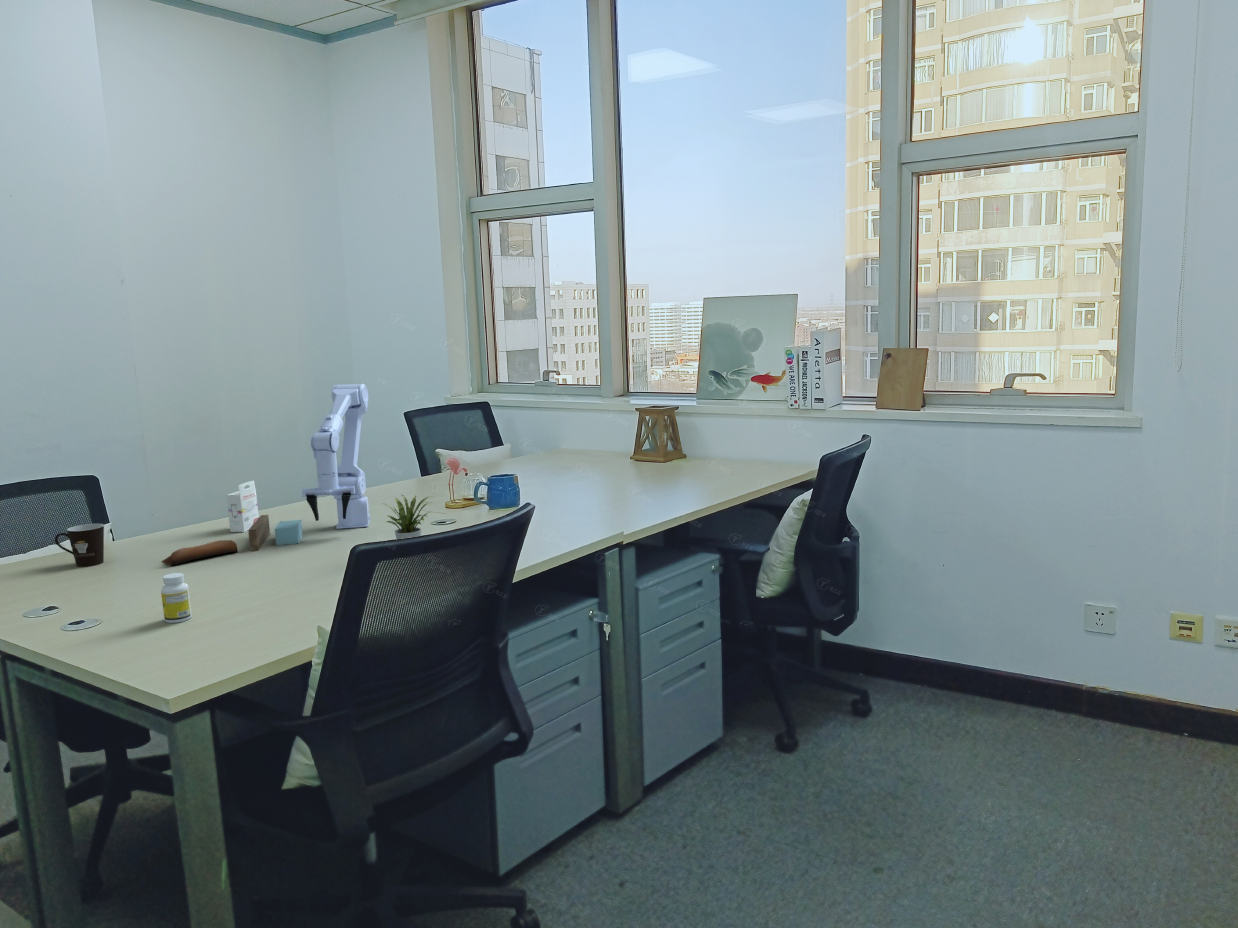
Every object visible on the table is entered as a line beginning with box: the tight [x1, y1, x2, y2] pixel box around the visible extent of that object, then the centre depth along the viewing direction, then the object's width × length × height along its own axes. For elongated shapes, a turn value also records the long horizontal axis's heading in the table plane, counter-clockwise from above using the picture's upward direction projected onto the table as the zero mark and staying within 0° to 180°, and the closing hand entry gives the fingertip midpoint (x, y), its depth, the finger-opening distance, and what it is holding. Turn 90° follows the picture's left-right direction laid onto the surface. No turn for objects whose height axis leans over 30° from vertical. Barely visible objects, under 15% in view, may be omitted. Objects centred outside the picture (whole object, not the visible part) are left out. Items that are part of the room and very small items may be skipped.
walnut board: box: [247, 514, 271, 552], centre depth 266 cm, size 2×20×6 cm, turn 11°
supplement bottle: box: [160, 572, 193, 624], centre depth 198 cm, size 5×5×10 cm
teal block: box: [274, 519, 303, 546], centre depth 267 cm, size 6×10×5 cm, turn 12°
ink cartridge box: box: [225, 480, 260, 533], centre depth 283 cm, size 9×5×15 cm, turn 168°
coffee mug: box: [54, 523, 105, 568], centre depth 247 cm, size 12×9×10 cm
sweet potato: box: [161, 539, 238, 567], centre depth 250 cm, size 18×7×7 cm
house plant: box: [382, 493, 433, 540], centre depth 248 cm, size 14×14×16 cm
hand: (330, 519), depth 269 cm, fingers open, 7 cm apart
